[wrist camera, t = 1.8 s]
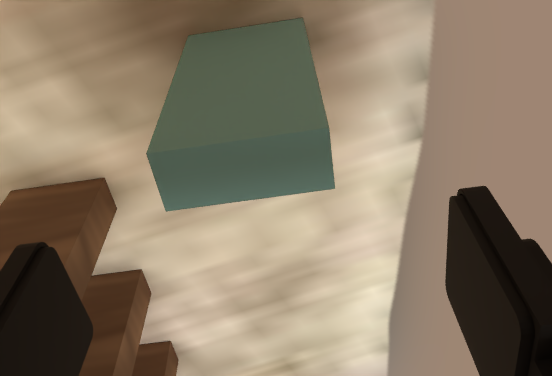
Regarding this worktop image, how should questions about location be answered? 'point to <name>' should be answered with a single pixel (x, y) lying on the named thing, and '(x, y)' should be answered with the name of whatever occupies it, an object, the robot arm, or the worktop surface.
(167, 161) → the teal domino
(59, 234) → the walnut domino
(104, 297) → the walnut domino
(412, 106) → the worktop surface
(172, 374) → the walnut domino
